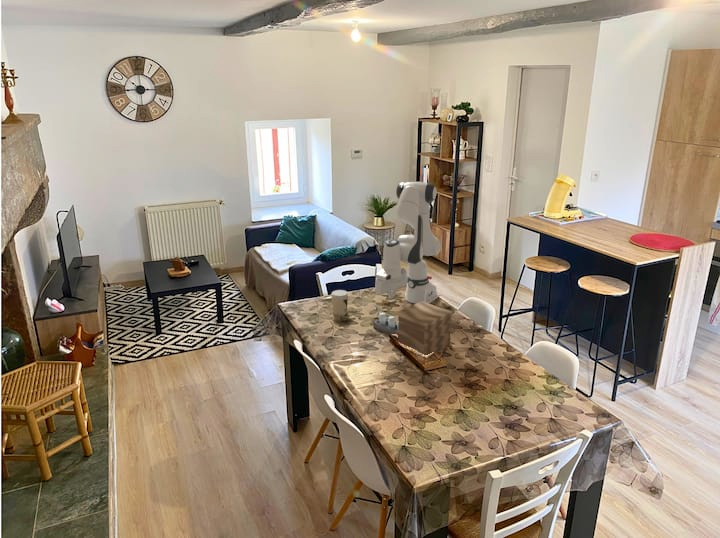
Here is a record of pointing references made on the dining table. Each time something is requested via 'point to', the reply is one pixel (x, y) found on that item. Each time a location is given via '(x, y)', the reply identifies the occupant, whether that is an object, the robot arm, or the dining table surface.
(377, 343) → the dining table surface
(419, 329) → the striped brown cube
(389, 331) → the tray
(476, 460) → the dining table surface
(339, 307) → the coffee cup
